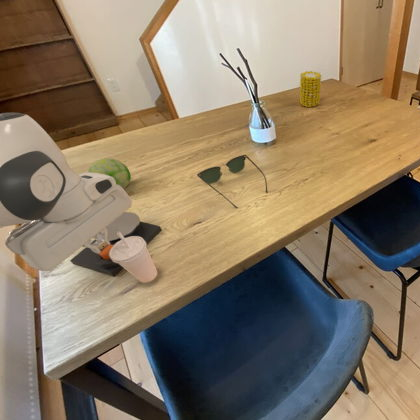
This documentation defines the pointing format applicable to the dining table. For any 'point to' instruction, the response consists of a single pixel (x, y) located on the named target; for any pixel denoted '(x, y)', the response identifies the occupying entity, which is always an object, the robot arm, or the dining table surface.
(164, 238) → the dining table surface
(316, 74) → the food
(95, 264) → the scale
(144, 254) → the smoothie
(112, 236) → the scale pan
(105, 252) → the tare button
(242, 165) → the sunglasses
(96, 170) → the decorative ball
